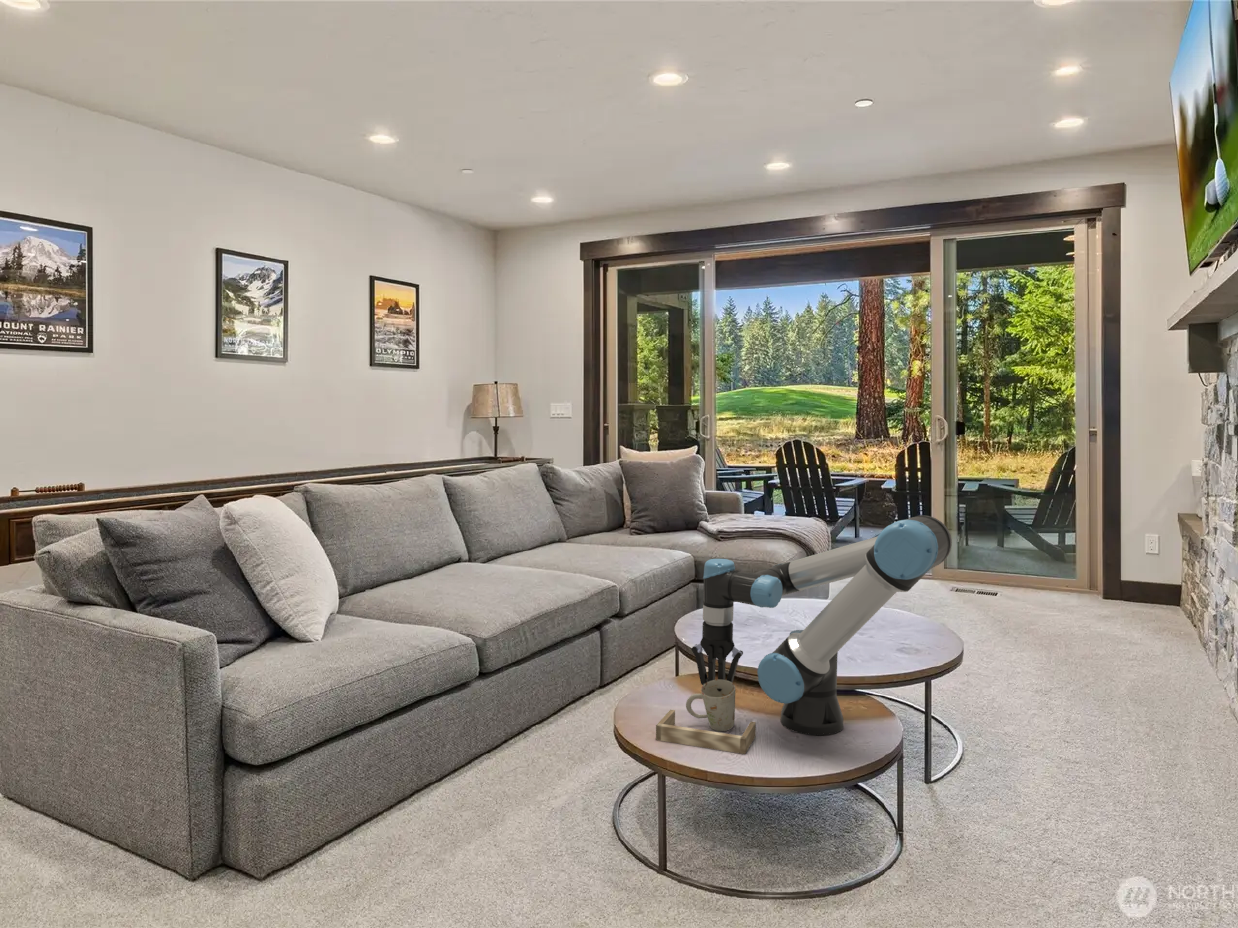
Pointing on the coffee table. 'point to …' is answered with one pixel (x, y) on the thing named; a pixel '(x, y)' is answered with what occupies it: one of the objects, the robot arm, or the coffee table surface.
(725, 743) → the bay
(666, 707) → the coffee table surface
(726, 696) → the mug
